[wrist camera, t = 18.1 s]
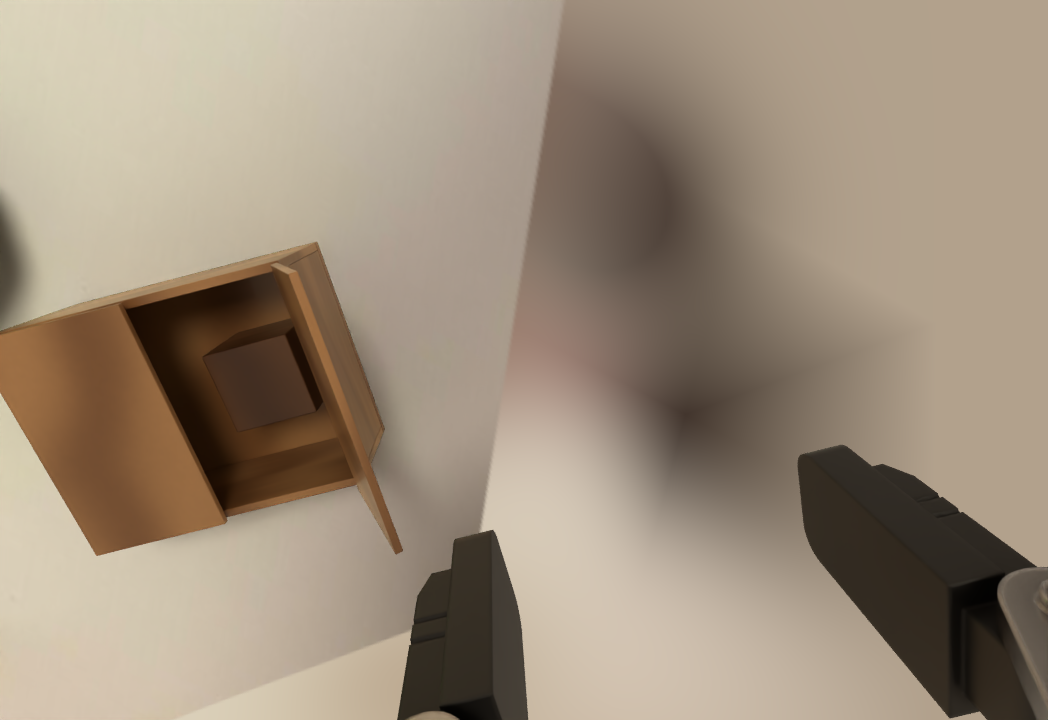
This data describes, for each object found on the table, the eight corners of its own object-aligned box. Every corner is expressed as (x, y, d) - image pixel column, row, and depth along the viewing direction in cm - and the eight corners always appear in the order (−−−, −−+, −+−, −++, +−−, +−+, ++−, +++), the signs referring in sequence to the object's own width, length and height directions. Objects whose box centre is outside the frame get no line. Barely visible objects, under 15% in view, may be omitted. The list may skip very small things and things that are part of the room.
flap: (269, 264, 24) (277, 262, 24) (358, 490, 27) (364, 487, 27) (288, 274, 18) (297, 271, 18) (395, 555, 22) (403, 551, 22)
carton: (317, 241, 30) (271, 262, 23) (384, 429, 33) (361, 491, 27) (75, 304, 30) (-33, 342, 24) (168, 483, 34) (95, 557, 27)
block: (310, 312, 30) (284, 334, 27) (337, 382, 32) (317, 412, 28) (236, 332, 31) (201, 356, 27) (266, 401, 32) (236, 433, 28)
